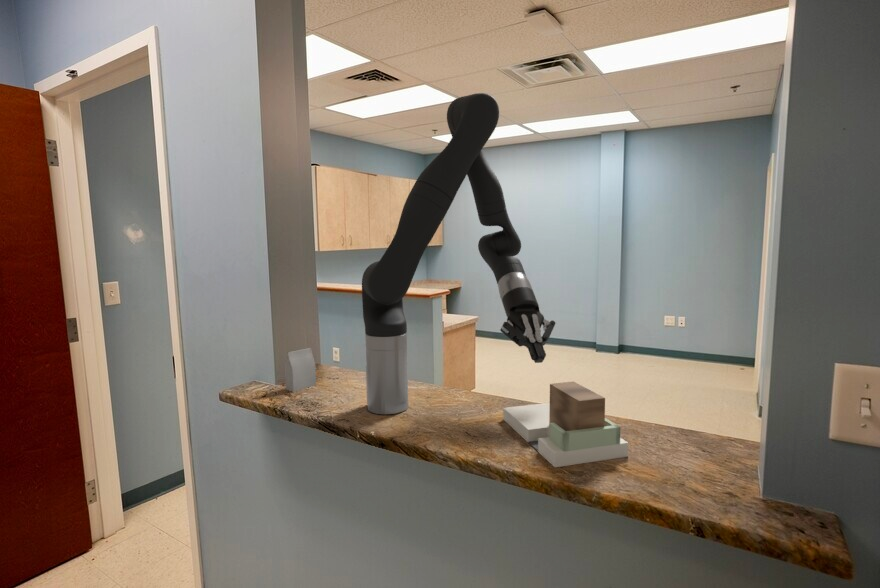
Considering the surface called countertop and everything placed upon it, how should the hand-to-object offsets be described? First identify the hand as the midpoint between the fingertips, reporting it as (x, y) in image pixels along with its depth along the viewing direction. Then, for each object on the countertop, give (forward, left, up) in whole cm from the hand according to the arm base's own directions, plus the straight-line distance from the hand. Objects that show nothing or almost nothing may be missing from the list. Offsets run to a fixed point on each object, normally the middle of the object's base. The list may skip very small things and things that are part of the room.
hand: (540, 360), depth 97 cm
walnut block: (+14, -5, -10) cm, 17 cm away
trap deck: (+9, -4, -12) cm, 16 cm away
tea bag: (-52, -34, -13) cm, 63 cm away
